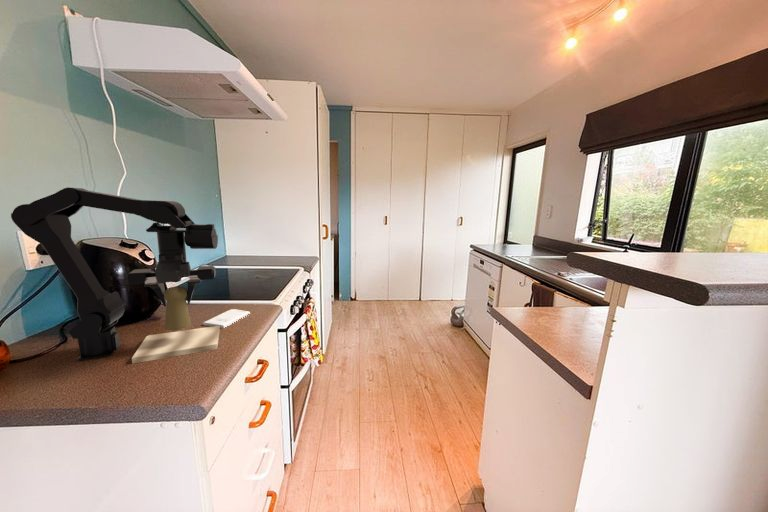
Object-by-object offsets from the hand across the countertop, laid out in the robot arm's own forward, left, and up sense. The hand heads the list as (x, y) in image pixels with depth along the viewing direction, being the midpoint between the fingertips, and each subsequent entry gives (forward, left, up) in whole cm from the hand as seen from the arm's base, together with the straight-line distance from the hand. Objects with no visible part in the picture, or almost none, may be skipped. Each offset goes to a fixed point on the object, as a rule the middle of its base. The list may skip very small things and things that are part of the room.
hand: (177, 304), depth 76 cm
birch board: (0, 0, -12) cm, 12 cm away
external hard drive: (+11, +15, -13) cm, 22 cm away
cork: (0, 0, -6) cm, 6 cm away
